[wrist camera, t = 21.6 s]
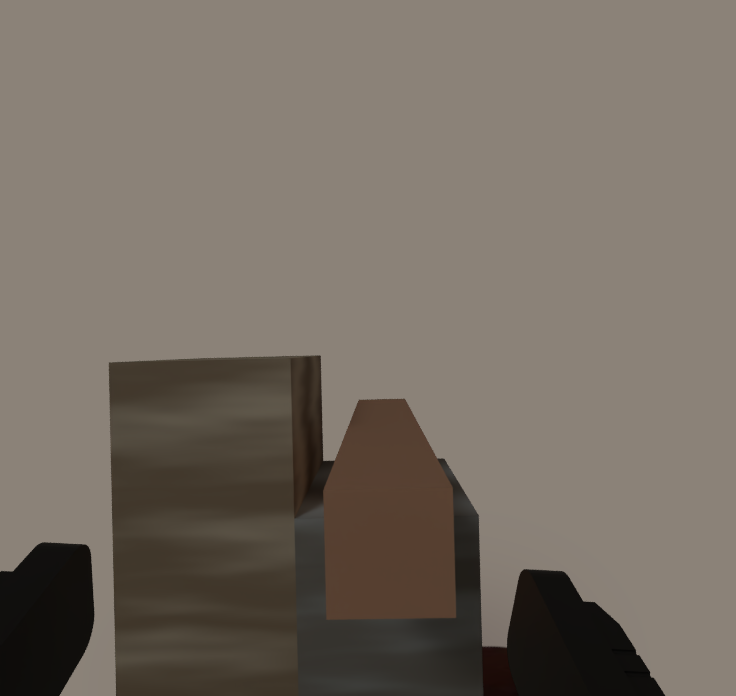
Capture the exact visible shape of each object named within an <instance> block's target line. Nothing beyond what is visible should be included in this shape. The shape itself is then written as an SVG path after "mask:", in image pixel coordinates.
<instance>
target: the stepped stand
mask: <svg viewBox="0 0 736 696" xmlns="http://www.w3.org/2000/svg"><path fill="white" fill-rule="evenodd" d="M109 387H110V388H109V391H110V434H111V477H112V478H111V480H112V523H113V524H112V525H113V569H114V613H115V614H114V615H115V657H116V659H115V660H116V696H483V667H482V630H481V629H482V628H481V590H480V552H479V551H480V550H479V515H478V514H477V512H476V510H475V509H474V507H473V506H472V504H471V502H470V501H469V499H468V497H467V496H466V494H465V492H464V491H463V489H462V487H461V486H460V484H459V482H458V481H457V479H456V477H455V476H454V474H453V473H452V471H451V469H450V468H449V466H448V465H447V463H446V461H445V459H438V461H439V463H440V465H441V467H442V469H443V470H444V472H445V474H446V476H447V478H448V480H449V481H450V483H451V485H452V487H453V512H454V551H455V590H456V618H416V619H347V620H326V582H325V541H324V500H323V490H324V487H325V485H326V482H327V480H328V477H329V474H330V472H331V469H332V467H333V464H334V462H335V461H323V440H322V439H323V436H322V396H321V356H282V357H242V358H241V357H239V358H201V359H178V360H156V361H135V362H113V363H109Z"/></svg>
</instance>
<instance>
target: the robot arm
mask: <svg viewBox="0 0 736 696" xmlns="http://www.w3.org/2000/svg"><path fill="white" fill-rule="evenodd" d="M93 624H94V600H93V583H92V564H91V552H90V549H89V547H88V546H87V545H82V544H64V543H45V542H44V543H40V544H38V545H37V546H36V547H35V548H34V549H33V550H32V551H31V552H30V553H29V555H28V556H27V557H26V558H25V559H24V560H23V561H22V562H21V563H20V564H19V565H18V567H17V568H16V569H15V570H14V571H13V572H9V571H8V572H7V571H1V572H0V696H59V695H60V694H61V692H62V690H63V689H64V687H65V685H66V683H67V682H68V680H69V678H70V677H71V675H72V673H73V672H74V670H75V668H76V666H77V665H78V663H79V661H80V659H81V658H82V656H83V654H84V652H85V650H86V648H87V646H88V643H89V640H90V637H91V633H92V629H93ZM507 653H508V662H509V667H510V671H511V675H512V678H513V680H514V683H515V686H516V689H517V692H518V695H519V696H665V695H664V693H663V691H662V690H661V688H660V687H659V685H658V684H657V682H656V681H655V679H654V678H651V676H650V671H649V670H648V668H647V667H646V665H645V663H644V662H643V660H642V659H641V657H640V656H639V655H637V654H636V650H635V648H634V646H633V645H632V643H631V642H630V640H629V639H628V637H627V636H626V634H625V632H624V631H623V629H622V628H621V626H620V625H619V624H618V623H617V622H616V621H615V620H614V619H613V618H612V617H611V616H610V615H608V614H607V613H606V612H605V611H604V610H603V609H602V608H601V607H599V606H598V605H597V604H596V603H595V602H583V600H582V599H581V597H580V595H579V594H578V592H577V590H576V588H575V587H574V585H573V583H572V582H571V580H570V578H569V577H568V575H566V573H565V572H562V571H547V570H527V569H526V570H525V569H524V570H523V571H522V572H521V574H520V576H519V580H518V585H517V590H516V595H515V600H514V605H513V611H512V616H511V621H510V626H509V631H508V638H507Z"/></svg>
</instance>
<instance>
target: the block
mask: <svg viewBox="0 0 736 696" xmlns="http://www.w3.org/2000/svg"><path fill="white" fill-rule="evenodd" d="M323 500H324V541H325V582H326V620H347V619H416V618H456V590H455V551H454V512H453V487H452V485H451V483H450V481H449V480H448V478H447V476H446V474H445V472H444V470H443V469H442V467H441V465H440V463H439V461H438V459H437V458H436V456H435V454H434V452H433V450H432V448H431V446H430V445H429V443H428V441H427V439H426V437H425V435H424V434H423V432H422V430H421V428H420V426H419V424H418V423H417V421H416V419H415V417H414V415H413V413H412V411H411V409H410V408H409V406H408V404H407V402H406V400H405V399H377V400H359V401H358V403H357V406H356V409H355V411H354V414H353V416H352V419H351V421H350V424H349V426H348V429H347V431H346V434H345V436H344V439H343V441H342V444H341V447H340V449H339V452H338V454H337V457H336V459H335V462H334V464H333V467H332V469H331V472H330V474H329V477H328V480H327V482H326V485H325V487H324V490H323Z"/></svg>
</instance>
